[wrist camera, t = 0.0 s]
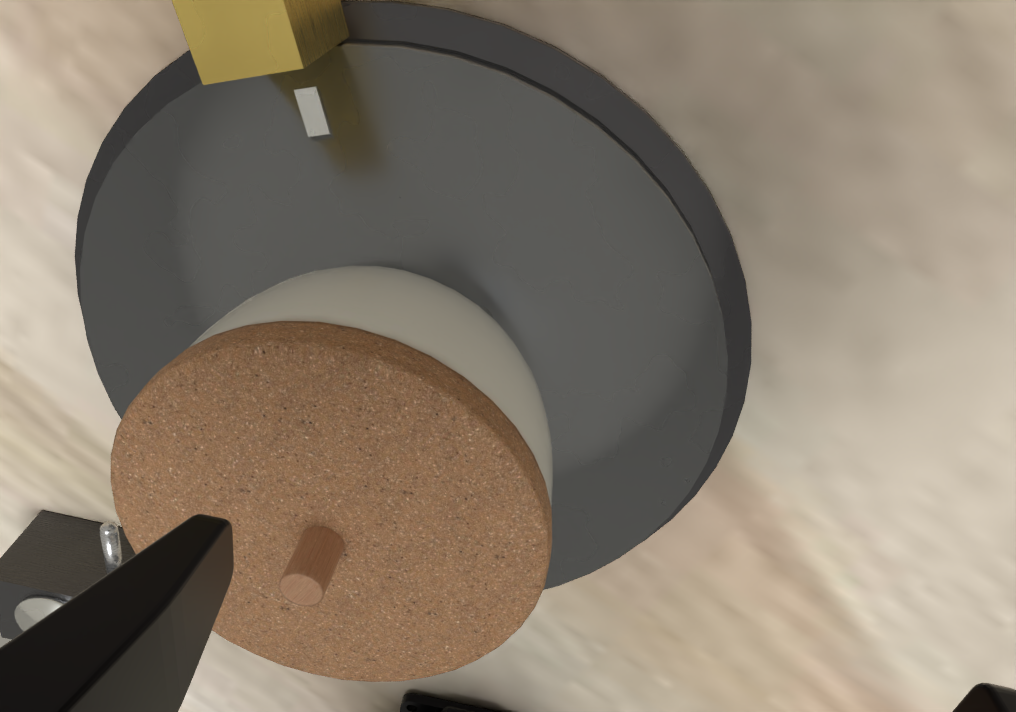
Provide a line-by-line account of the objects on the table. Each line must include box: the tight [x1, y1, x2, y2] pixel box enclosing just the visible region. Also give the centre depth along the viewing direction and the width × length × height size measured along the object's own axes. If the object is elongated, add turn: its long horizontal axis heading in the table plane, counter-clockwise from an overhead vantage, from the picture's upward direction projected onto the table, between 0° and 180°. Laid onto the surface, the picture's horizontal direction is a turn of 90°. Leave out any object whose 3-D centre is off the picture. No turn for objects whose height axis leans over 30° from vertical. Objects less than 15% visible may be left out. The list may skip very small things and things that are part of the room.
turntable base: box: [75, 1, 751, 542], centre depth 26 cm, size 22×22×1 cm
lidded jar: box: [111, 266, 553, 682], centre depth 21 cm, size 11×11×9 cm
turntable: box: [80, 0, 728, 590], centre depth 23 cm, size 25×20×3 cm
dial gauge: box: [0, 510, 136, 639], centre depth 31 cm, size 6×5×4 cm
